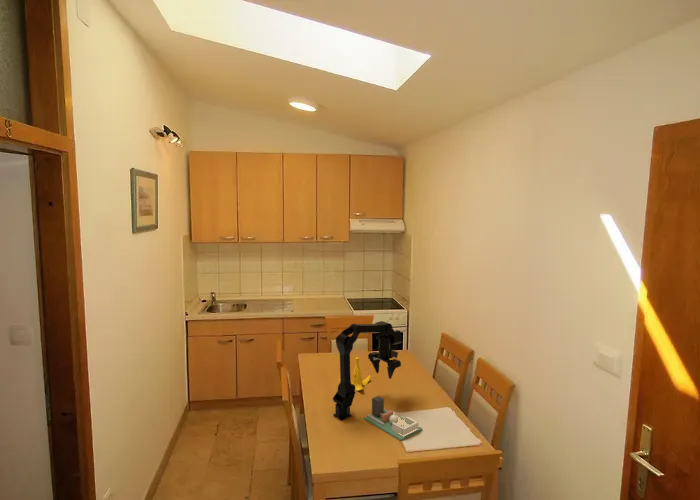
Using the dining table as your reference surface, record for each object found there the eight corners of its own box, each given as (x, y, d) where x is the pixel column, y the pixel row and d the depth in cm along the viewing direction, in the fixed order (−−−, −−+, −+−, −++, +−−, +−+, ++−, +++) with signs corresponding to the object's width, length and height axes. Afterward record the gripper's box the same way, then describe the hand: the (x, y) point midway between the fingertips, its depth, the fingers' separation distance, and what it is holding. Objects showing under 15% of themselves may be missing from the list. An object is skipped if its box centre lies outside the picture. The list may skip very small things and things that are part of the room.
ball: (393, 426, 189) (393, 418, 189) (387, 423, 192) (387, 415, 192) (399, 424, 192) (399, 415, 191) (393, 420, 195) (393, 412, 195)
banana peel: (362, 395, 224) (362, 364, 222) (338, 384, 238) (338, 355, 236) (382, 385, 236) (382, 357, 234) (358, 376, 249) (358, 349, 247)
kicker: (383, 422, 193) (383, 405, 192) (370, 414, 200) (370, 398, 199) (392, 418, 197) (393, 402, 196) (379, 410, 204) (379, 395, 203)
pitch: (400, 441, 179) (400, 431, 179) (364, 419, 198) (364, 410, 197) (422, 430, 188) (422, 421, 187) (385, 410, 206) (385, 402, 206)
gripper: (408, 347, 211) (407, 377, 212) (382, 339, 225) (382, 367, 227) (393, 352, 204) (392, 383, 205) (367, 342, 218) (367, 371, 220)
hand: (383, 375), depth 214 cm, fingers open, 9 cm apart
